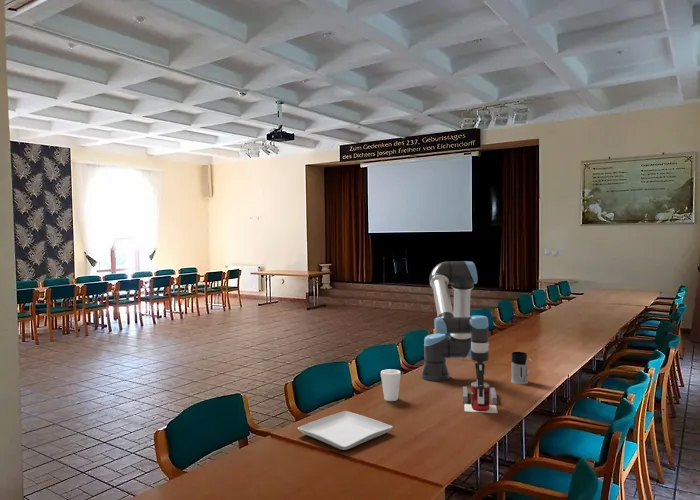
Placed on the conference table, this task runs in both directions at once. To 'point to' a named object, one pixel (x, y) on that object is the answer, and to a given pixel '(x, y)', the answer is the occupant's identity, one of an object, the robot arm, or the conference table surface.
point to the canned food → (475, 397)
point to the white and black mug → (520, 368)
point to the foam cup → (390, 384)
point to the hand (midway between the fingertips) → (480, 398)
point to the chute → (469, 408)
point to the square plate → (345, 429)
